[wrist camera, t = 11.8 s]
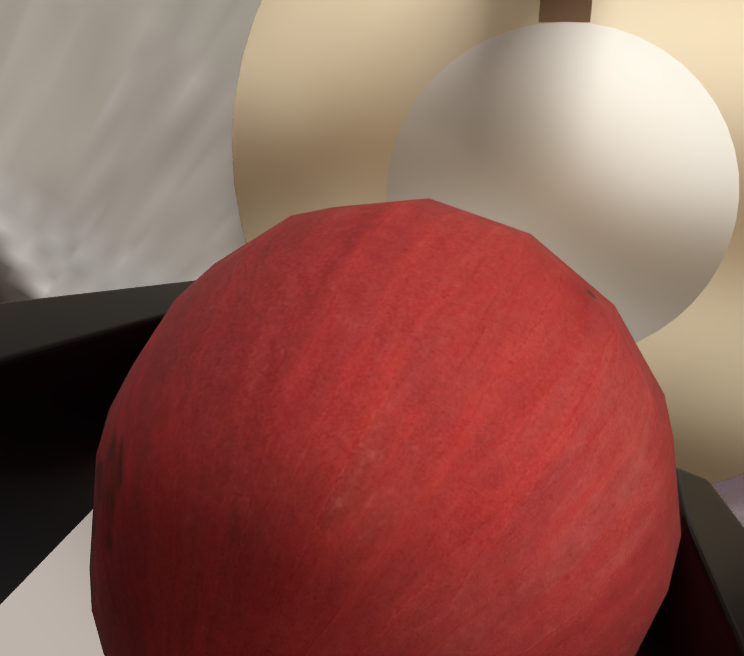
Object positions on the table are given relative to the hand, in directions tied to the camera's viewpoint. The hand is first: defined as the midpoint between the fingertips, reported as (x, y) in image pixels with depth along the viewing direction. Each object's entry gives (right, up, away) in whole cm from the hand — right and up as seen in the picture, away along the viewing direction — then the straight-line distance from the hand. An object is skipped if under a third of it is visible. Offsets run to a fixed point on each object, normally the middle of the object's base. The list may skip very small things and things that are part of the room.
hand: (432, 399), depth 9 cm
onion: (+1, +1, +2) cm, 2 cm away
